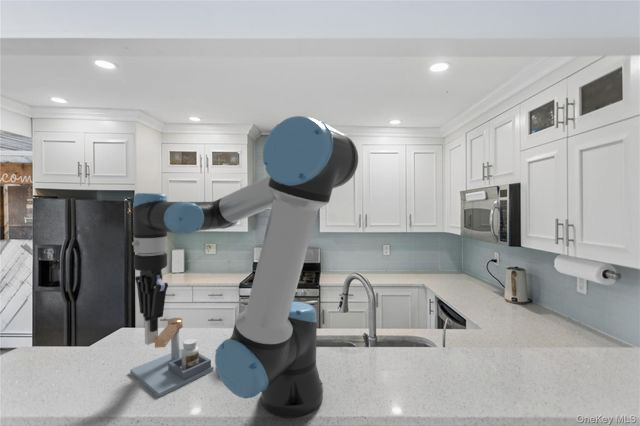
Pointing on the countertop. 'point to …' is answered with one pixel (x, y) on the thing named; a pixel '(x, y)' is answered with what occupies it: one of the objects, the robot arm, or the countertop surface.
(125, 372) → the countertop surface
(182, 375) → the board
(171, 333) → the lever
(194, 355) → the pill bottle
